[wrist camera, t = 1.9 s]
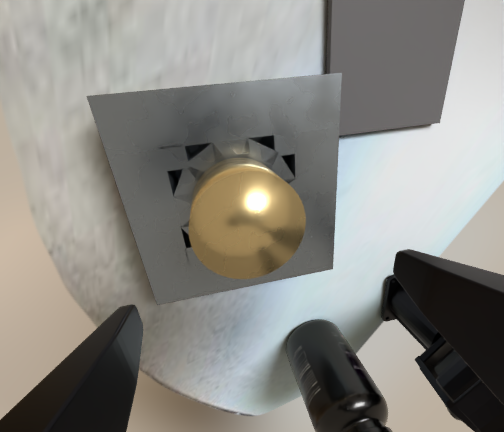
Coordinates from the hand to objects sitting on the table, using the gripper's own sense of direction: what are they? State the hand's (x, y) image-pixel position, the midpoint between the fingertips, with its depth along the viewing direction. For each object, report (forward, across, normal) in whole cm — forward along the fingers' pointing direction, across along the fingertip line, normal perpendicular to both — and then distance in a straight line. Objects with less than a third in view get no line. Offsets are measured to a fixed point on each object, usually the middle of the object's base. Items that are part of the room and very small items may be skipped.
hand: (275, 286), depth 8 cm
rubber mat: (+13, -13, -9) cm, 20 cm away
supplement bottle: (+13, -7, +20) cm, 25 cm away
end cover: (+12, 0, 0) cm, 12 cm away
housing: (+13, 0, 0) cm, 13 cm away
